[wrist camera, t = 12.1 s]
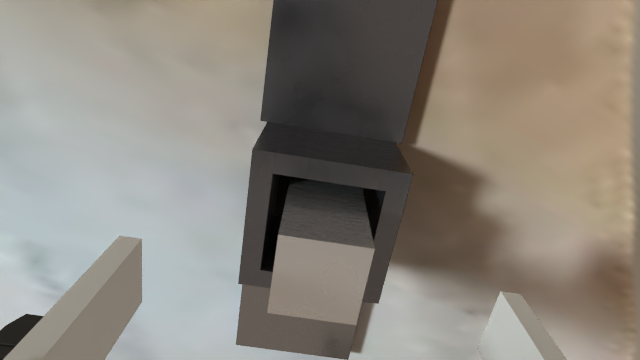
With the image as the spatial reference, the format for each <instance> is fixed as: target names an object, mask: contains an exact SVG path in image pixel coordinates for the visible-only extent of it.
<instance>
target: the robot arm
mask: <svg viewBox="0 0 640 360" xmlns="http://www.w3.org/2000/svg"><path fill="white" fill-rule="evenodd" d="M141 302H142V239H139V238H132V237H125V236H119V237H118V238H117V239H116V240H115V241H114V242H113V243H112V244H111V246H110V247H109V248H108V249H107V250H106V251H105V252H104V253H103V254H102V255H101V256H100V257H99V258H98V259H97V260H96V261H95V263H94V264H93V265H92V266H91V267H90V268H89V269H88V270H87V271H86V272H85V273H84V274H83V275H82V276H81V277H80V278H79V280H78V281H77V282H76V283H75V284H74V285H73V286H72V287H71V288H70V289H69V290H68V291H67V292H66V293H65V294H64V295H63V297H62V298H61V299H60V300H59V301H58V302H57V303H56V304H55V305H54V306H53V307H52V308H51V309H50V310H49V311H48V312H47V313H46V315H45V316H37V315H30V314H25V315H24V316H22V317H20V318H18V319H17V320H15V321H13V322H11V323H10V324H8V325H6V326H5V327H4V328H3V329H2V330H1V331H0V360H105V358H106V356H107V355H108V353H109V352H110V350H111V349H112V347H113V346H114V344H115V343H116V341H117V339H118V338H119V336H120V335H121V333H122V332H123V330H124V329H125V327H126V326H127V324H128V322H129V321H130V319H131V318H132V316H133V315H134V313H135V312H136V310H137V308H138V307H139V305H140V304H141ZM478 350H479V352H480V354H481V356H482V358H483V360H567V359H566V358H565V356H564V355H563V353H562V352H561V351H560V349H559V348H558V346H557V345H556V344H555V342H554V341H553V339H552V338H551V336H550V335H549V334H548V332H547V331H546V329H545V328H544V327H543V325H542V324H541V322H540V321H539V319H538V318H537V317H536V315H535V314H534V312H533V311H532V310H531V308H530V307H529V305H528V304H527V302H526V301H525V300H524V298H523V297H522V295H521V294H517V293H510V292H503V291H500V294H499V296H498V299H497V301H496V304H495V306H494V309H493V311H492V314H491V316H490V319H489V321H488V323H487V326H486V328H485V331H484V333H483V336H482V338H481V341H480V343H479V346H478Z"/></svg>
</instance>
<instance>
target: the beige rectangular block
mask: <svg viewBox="0 0 640 360" xmlns="http://www.w3.org/2000/svg"><path fill="white" fill-rule="evenodd" d="M374 251H375V247H374V242H373V238H372V233H371V228H370V224H369V219H368V214H367V210H366V205H365V200H364V196H363V191H362V187H356V186H349V185H343V184H336V183H330V182H323V181H317V180H311V179H304V178H298V177H291V178H290V183H289V187H288V192H287V197H286V201H285V206H284V210H283V215H282V219H281V224H280V229H279V233H278V239H277V247H276V254H275V261H274V268H273V275H272V282H271V289H270V296H269V303H268V310H267V313H271V314H279V315H286V316H293V317H300V318H307V319H315V320H322V321H329V322H336V323H343V324H351V325H356V323H357V319H358V315H359V311H360V307H361V303H362V299H363V295H364V291H365V287H366V283H367V279H368V275H369V271H370V267H371V263H372V259H373V255H374Z"/></svg>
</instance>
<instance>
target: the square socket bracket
mask: <svg viewBox="0 0 640 360" xmlns="http://www.w3.org/2000/svg"><path fill="white" fill-rule="evenodd" d="M437 1H438V0H274V2H273V11H272V20H271V29H270V38H269V48H268V57H267V66H266V75H265V84H264V93H263V102H262V111H261V121H266V122H267V124H266V126H265V128H264V129H263V131H262V133H261V135H260V137H259V138H258V140H257V142H256V144H255V146H254V147H253V150H252V159H251V169H250V178H249V188H248V197H247V207H246V216H245V226H244V236H243V245H242V255H241V264H240V274H239V283H238V284H243V285H242V294H241V303H240V312H239V321H238V330H237V339H236V345H242V346H250V347H257V348H265V349H272V350H280V351H287V352H295V353H302V354H309V355H317V356H324V357H332V358H339V359H347V360H348V358H349V354H350V350H351V346H352V342H353V338H354V334H355V330H356V326H357V323H356V325H351V324H343V323H336V322H329V321H322V320H315V319H307V318H300V317H293V316H286V315H279V314H271V313H267V310H268V303H269V296H270V289H271V282H272V275H273V268H274V261H275V254H276V247H277V239H278V233H279V229H280V224H281V219H282V216H276V215H274V214H275V207H276V200H277V192H278V185H279V177H280V175H285V176H291V177H298V178H304V179H311V180H317V181H323V182H330V183H336V184H343V185H349V186H356V187H362V188H364V189H363V196H364V200H365V205H366V210H367V214H368V219H369V224H370V228H371V233H372V238H373V242H374V247H375V251H374V255H373V259H372V263H371V267H370V271H369V275H368V279H367V283H366V287H365V291H364V295H363V299H362V302H371V303H379V299H380V296H381V292H382V288H383V285H384V281H385V277H386V273H387V270H388V266H389V262H390V258H391V255H392V251H393V247H394V243H395V240H396V236H397V232H398V228H399V225H400V221H401V217H402V213H403V210H404V206H405V202H406V198H407V195H408V191H409V187H410V184H411V180H412V176H413V174H412V172H411V170H410V168H409V166H408V165H407V163H406V161H405V159H404V158H403V156H402V154H401V152H400V150H399V149H398V147H397V145H396V143H402V141H403V137H404V133H405V129H406V125H407V121H408V117H409V113H410V109H411V105H412V101H413V97H414V93H415V89H416V85H417V81H418V77H419V73H420V69H421V65H422V61H423V57H424V53H425V49H426V45H427V41H428V37H429V33H430V29H431V25H432V21H433V17H434V13H435V9H436V5H437ZM395 142H396V143H395ZM361 306H362V303H361ZM360 310H361V307H360ZM359 314H360V311H359ZM358 318H359V315H358ZM357 322H358V319H357Z"/></svg>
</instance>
